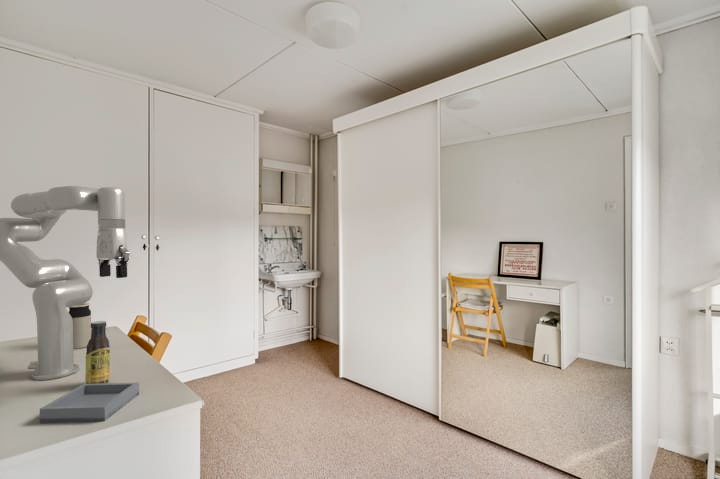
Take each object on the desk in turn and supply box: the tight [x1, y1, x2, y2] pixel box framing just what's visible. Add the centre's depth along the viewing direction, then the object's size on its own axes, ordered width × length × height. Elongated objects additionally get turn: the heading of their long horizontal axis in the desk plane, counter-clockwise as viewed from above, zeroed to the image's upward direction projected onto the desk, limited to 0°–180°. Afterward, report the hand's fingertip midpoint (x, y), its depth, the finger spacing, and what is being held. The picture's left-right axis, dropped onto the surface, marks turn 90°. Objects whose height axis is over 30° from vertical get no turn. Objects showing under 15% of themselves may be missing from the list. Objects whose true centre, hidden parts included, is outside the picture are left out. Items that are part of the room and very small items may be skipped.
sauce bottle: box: [84, 320, 111, 384], centre depth 119 cm, size 6×6×20 cm
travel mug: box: [68, 302, 92, 350], centre depth 160 cm, size 8×8×18 cm
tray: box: [39, 381, 140, 424], centre depth 103 cm, size 16×16×4 cm
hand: (113, 277), depth 124 cm, fingers open, 9 cm apart
